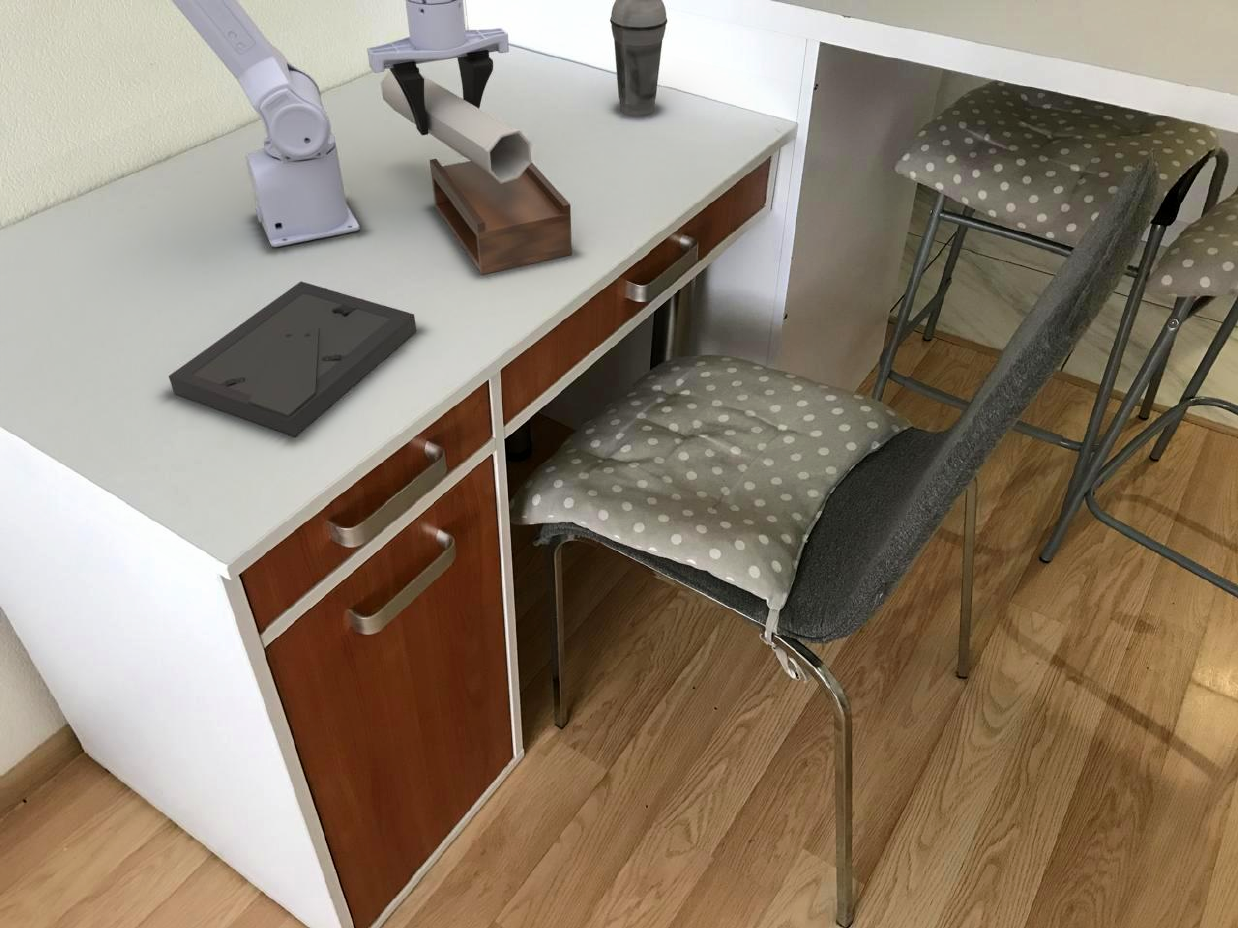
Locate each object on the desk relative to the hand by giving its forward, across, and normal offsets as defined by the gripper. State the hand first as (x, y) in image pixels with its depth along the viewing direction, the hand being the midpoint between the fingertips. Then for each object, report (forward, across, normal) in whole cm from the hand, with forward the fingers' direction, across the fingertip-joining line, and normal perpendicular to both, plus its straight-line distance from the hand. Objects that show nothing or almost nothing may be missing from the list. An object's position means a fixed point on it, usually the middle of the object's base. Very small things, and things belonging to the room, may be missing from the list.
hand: (447, 127), depth 114 cm
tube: (+2, 0, 0) cm, 2 cm away
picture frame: (+9, +23, +24) cm, 34 cm away
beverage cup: (+9, -31, -15) cm, 35 cm away
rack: (+9, -2, +8) cm, 12 cm away
